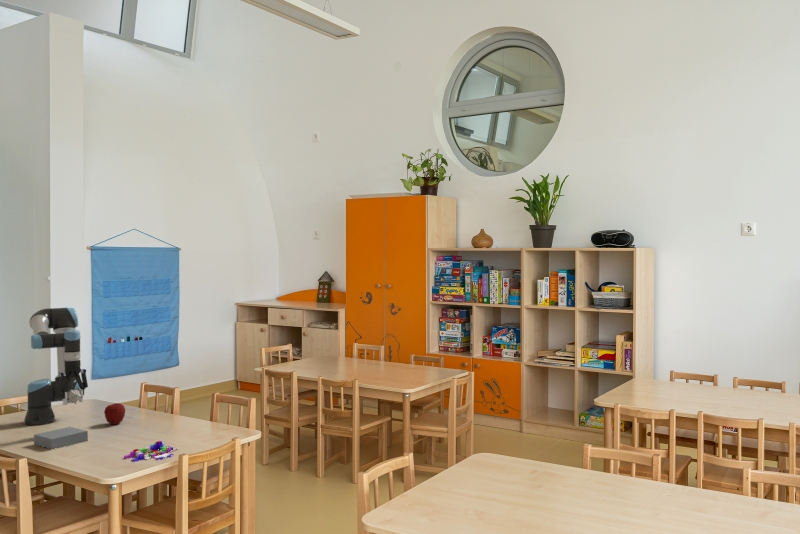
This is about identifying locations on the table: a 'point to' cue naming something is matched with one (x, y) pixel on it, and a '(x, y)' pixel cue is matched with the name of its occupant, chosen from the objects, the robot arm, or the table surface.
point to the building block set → (154, 447)
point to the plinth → (61, 437)
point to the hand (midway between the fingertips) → (72, 403)
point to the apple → (114, 413)
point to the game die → (73, 396)
